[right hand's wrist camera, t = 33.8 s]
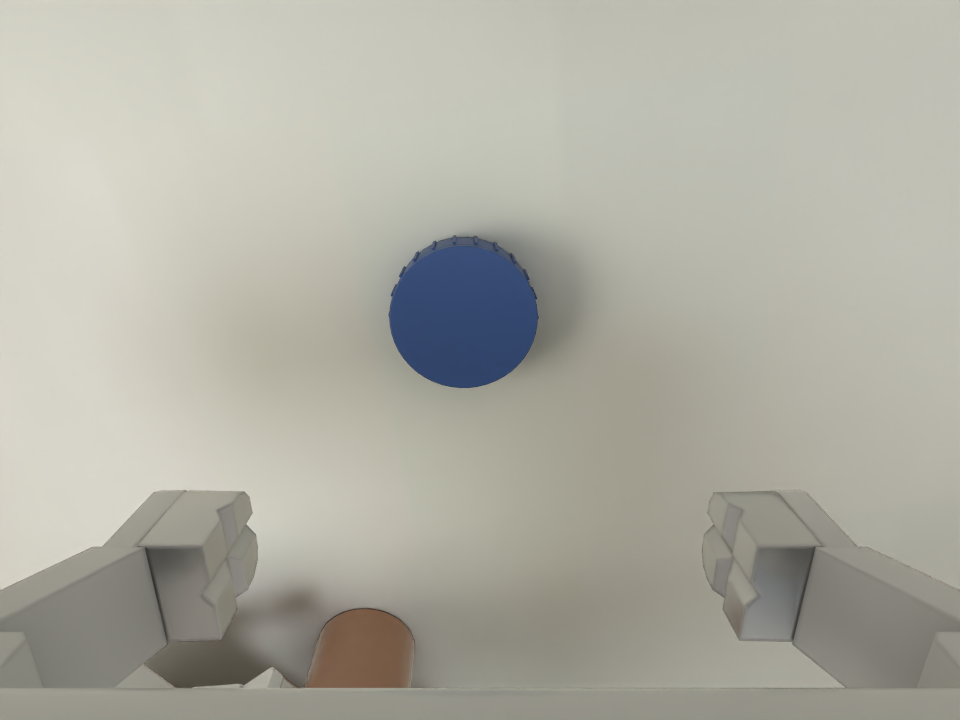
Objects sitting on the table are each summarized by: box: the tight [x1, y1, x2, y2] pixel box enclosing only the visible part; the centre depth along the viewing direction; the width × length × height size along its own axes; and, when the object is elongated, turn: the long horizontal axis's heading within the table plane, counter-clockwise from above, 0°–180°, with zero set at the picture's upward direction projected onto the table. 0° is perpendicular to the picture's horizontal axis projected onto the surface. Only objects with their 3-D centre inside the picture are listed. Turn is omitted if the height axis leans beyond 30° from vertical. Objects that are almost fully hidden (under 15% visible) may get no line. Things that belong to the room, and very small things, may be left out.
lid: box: [389, 236, 538, 388], centre depth 21 cm, size 5×5×2 cm
